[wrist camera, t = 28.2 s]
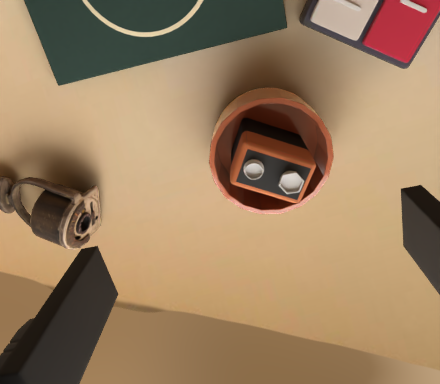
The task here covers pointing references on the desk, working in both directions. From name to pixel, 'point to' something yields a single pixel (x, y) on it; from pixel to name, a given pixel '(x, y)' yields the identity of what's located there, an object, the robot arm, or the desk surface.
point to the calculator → (375, 25)
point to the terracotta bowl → (278, 117)
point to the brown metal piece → (55, 211)
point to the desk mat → (141, 30)
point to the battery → (270, 161)
